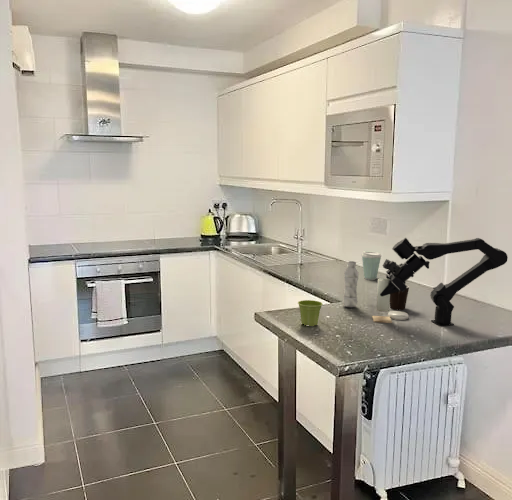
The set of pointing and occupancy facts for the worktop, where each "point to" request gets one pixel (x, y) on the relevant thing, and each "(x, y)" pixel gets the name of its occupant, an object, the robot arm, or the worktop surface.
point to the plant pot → (309, 312)
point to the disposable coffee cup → (370, 264)
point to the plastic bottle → (350, 285)
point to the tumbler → (382, 300)
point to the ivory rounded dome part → (398, 315)
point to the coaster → (382, 319)
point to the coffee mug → (399, 299)
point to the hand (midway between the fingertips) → (379, 293)
